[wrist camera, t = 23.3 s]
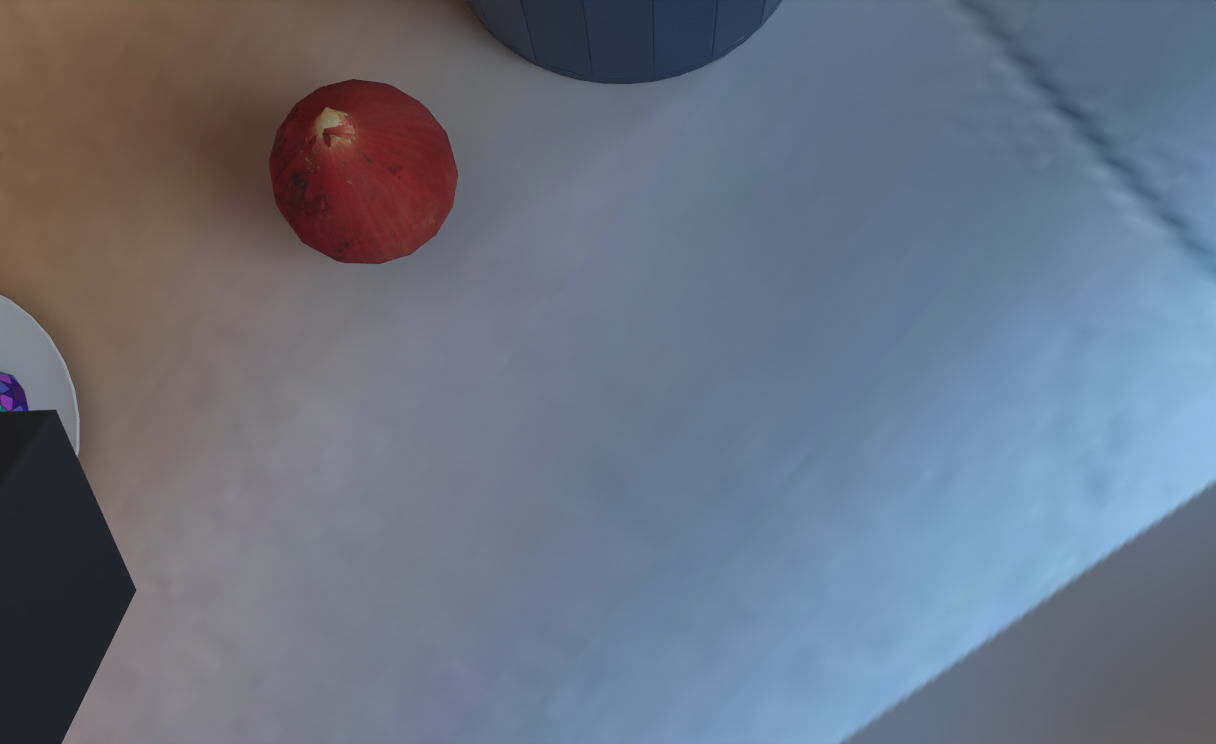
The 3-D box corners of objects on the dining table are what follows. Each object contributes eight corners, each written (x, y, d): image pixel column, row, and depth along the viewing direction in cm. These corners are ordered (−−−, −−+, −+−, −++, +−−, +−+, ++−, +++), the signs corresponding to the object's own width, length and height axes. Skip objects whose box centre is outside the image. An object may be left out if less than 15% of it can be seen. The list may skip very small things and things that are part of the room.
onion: (372, 321, 39) (298, 260, 31) (280, 197, 39) (185, 108, 32) (505, 222, 39) (465, 136, 31) (411, 101, 40) (348, -11, 32)
